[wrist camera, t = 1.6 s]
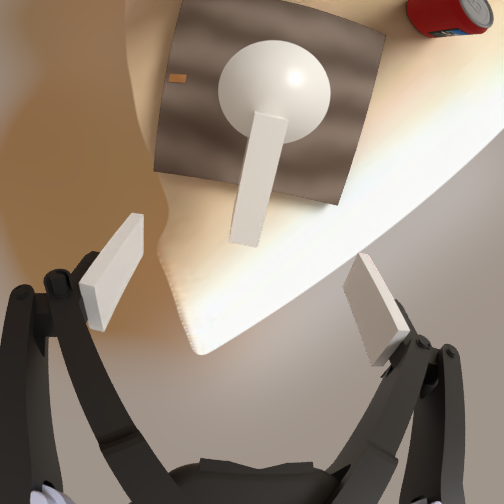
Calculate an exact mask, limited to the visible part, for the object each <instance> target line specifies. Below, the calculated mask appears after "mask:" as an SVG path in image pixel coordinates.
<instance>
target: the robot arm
mask: <svg viewBox="0 0 504 504" xmlns="http://www.w3.org/2000/svg"><path fill="white" fill-rule="evenodd" d="M143 222H144V215H143V214H137V213H131V214H130V216H129V217H128V218H127V219H126V220H125V222H124V223H123V224H122V225H121V227H120V228H119V229H118V230H117V232H116V233H115V234H114V236H113V237H112V238H111V239H110V241H109V242H108V243H107V245H106V246H105V247H104V248H103V250H102V251H101V252H94V251H92V252H90V253H89V254H87V255H85V257H84V258H83V259H82V260H81V262H80V263H79V264H78V265H77V267H76V268H75V269H74V271H73V272H72V273H71V274H70V272H69V271H67V270H65V269H55V270H52V271H50V272H49V273H47V274H46V276H45V277H44V286H45V289H46V292H47V293H35V292H34V289H33V288H32V286H30V285H26V284H23V285H19V286H18V287H16V288H14V289H13V290H12V292H11V294H10V298H9V302H8V306H7V311H6V316H5V321H4V326H3V333H2V338H1V345H0V504H75V503H74V502H73V501H72V499H71V498H70V497H68V496H67V495H66V494H64V493H63V484H62V477H61V471H60V466H59V461H58V456H57V451H56V445H55V440H54V433H53V425H52V417H51V408H50V395H49V375H48V339H49V337H58V340H59V344H60V348H61V351H62V354H63V358H64V360H65V364H66V367H67V370H68V373H69V375H70V378H71V381H72V384H73V386H74V389H75V392H76V394H77V397H78V399H79V402H80V404H81V406H82V409H83V411H84V413H85V415H86V418H87V420H88V422H89V424H90V426H91V429H92V431H93V433H94V435H95V437H96V439H97V441H98V443H99V447H100V450H101V452H102V453H103V456H104V458H105V459H106V461H107V463H108V465H109V467H110V468H111V470H112V471H113V473H114V475H115V477H116V478H117V480H118V481H119V483H120V485H121V486H122V488H123V489H124V491H125V492H126V494H127V495H128V497H129V498H130V500H131V501H132V502H130V503H129V504H377V503H378V501H379V500H380V498H381V496H382V494H383V492H384V491H385V489H386V486H387V485H388V483H389V481H390V479H391V477H392V475H393V473H394V471H395V469H396V467H397V464H398V459H397V458H395V455H396V452H397V450H398V448H399V445H400V443H401V441H402V438H403V436H404V434H405V431H406V429H407V426H408V424H409V421H410V419H411V416H412V413H413V410H414V417H413V425H412V433H411V440H410V447H409V453H408V459H407V464H406V469H405V475H404V479H403V484H402V488H401V493H400V499H399V504H465V498H464V491H463V483H462V482H463V472H464V456H465V407H464V391H463V380H462V372H461V364H460V356H459V353H458V351H457V350H456V348H455V347H453V346H452V345H450V344H444V346H443V347H442V348H441V349H436V348H433V347H432V346H431V343H430V342H429V341H428V340H427V338H425V337H424V336H422V335H418V334H417V332H416V331H415V329H414V327H413V325H412V323H411V321H410V319H409V318H408V315H407V314H406V312H405V310H404V308H403V306H402V305H401V304H400V303H399V302H398V300H396V299H393V297H392V295H391V293H390V291H389V289H388V288H387V286H386V284H385V283H384V281H383V279H382V277H381V275H380V274H379V272H378V270H377V269H376V267H375V265H374V263H373V262H372V260H371V258H370V257H369V255H367V254H362V253H358V254H357V256H356V259H355V261H354V263H353V265H352V268H351V270H350V272H349V274H348V276H347V279H346V281H345V283H344V285H343V289H344V292H345V294H346V297H347V299H348V302H349V304H350V307H351V310H352V313H353V315H354V318H355V320H356V323H357V325H358V329H359V332H360V334H361V337H362V340H363V343H364V346H365V348H366V352H367V355H368V357H369V360H370V363H371V366H384V364H385V363H386V362H387V361H388V360H390V363H391V365H390V366H389V368H388V369H387V370H386V371H385V372H384V374H383V375H382V376H381V378H383V379H382V381H381V383H380V385H379V387H378V389H377V391H376V393H375V395H374V397H373V399H372V401H371V403H370V404H369V407H368V408H367V410H366V412H365V413H364V415H363V417H362V419H361V420H360V422H359V424H358V426H357V427H356V429H355V430H354V432H353V434H352V435H351V437H350V439H349V440H348V442H347V443H346V445H345V447H344V448H343V450H342V451H341V453H340V454H339V455H338V457H337V459H336V460H335V461H334V463H333V464H332V465H331V466H330V467H329V468H328V469H327V470H326V471H323V470H321V469H317V468H313V462H301V463H285V464H281V465H277V466H273V467H268V468H264V469H255V468H251V467H248V466H244V465H240V464H237V463H233V462H230V461H221V460H212V459H204V458H201V459H200V462H199V463H193V464H188V465H184V466H181V467H178V468H176V469H174V470H172V471H170V472H169V473H168V472H167V471H166V470H165V468H164V467H163V465H162V464H161V463H160V461H159V460H158V459H157V457H156V455H155V454H154V452H153V451H152V449H151V448H150V446H149V445H148V443H147V442H146V440H145V439H144V437H143V436H142V434H141V433H140V431H139V430H138V429H137V428H136V426H135V425H134V423H133V421H132V420H131V418H130V416H129V414H128V413H127V411H126V409H125V407H124V405H123V404H122V402H121V400H120V398H119V396H118V394H117V392H116V390H115V388H114V386H113V384H112V383H111V380H110V378H109V376H108V374H107V372H106V370H105V368H104V366H103V363H102V361H101V359H100V357H99V354H98V352H97V350H96V347H95V345H94V343H93V340H92V338H91V335H90V333H89V330H88V328H87V325H86V322H87V320H88V323H89V327H90V328H91V329H94V330H98V331H102V332H104V331H105V329H106V327H107V324H108V322H109V320H110V318H111V316H112V314H113V312H114V310H115V307H116V306H117V303H118V302H119V300H120V297H121V296H122V294H123V292H124V290H125V288H126V285H127V284H128V282H129V280H130V278H131V276H132V274H133V272H134V271H135V269H136V266H137V265H138V263H139V261H140V259H141V258H142V256H143V228H144V223H143Z"/></svg>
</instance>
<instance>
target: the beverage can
mask: <svg viewBox="0 0 504 504" xmlns="http://www.w3.org/2000/svg"><path fill="white" fill-rule="evenodd" d="M407 13H408V16H409V18H410V20H411V22H412V24H413V25H414V26H415V27H416V28H417V29H418V30H419V31H420V32H421V33H423V34H424V35H426V36H429V37H433V38H437V37H447V36H459V35H472V34H482V33H484V32H485V31H486V30H487V29H488V28H489V27H491V26H492V24H493V21H494V17H493V12H492V9H491V7H490V5H489V3H488V1H487V0H409V1H408V3H407Z"/></svg>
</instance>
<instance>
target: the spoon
mask: <svg viewBox="0 0 504 504" xmlns="http://www.w3.org/2000/svg"><path fill="white" fill-rule="evenodd" d="M330 93H331V92H330V84H329V80H328V77H327V74H326V72H325V70H324V68H323V66H322V65H321V64H320V62H319V61H318V60H317V59H316V58H315V57H314V56H313V55H312V54H311V53H309V52H308V51H307V50H305V49H304V48H302V47H300V46H298V45H295V44H293V43H289V42H285V41H278V40H268V41H261V42H257V43H254V44H251V45H249V46H247V47H245V48H243V49H241V50H240V51H239V52H237V53H236V54H235V55H234V56H233V57H232V58H231V59H230V60H229V61H228V63H227V64H226V66H225V67H224V69H223V71H222V74H221V77H220V80H219V86H218V96H219V102H220V106H221V109H222V111H223V113H224V115H225V117H226V118H227V120H228V121H229V122H230V124H231V125H232V126H233V127H234V128H235V129H236V130H237V131H239V132H240V133H241V134H243V135H244V136H246V137H248V140H247V145H246V149H245V154H244V159H243V164H242V169H241V174H240V179H239V184H238V189H237V194H236V199H235V204H234V209H233V215H232V222H231V229H230V236H229V243H234V244H240V245H245V246H251V247H258V243H259V239H260V235H261V231H262V227H263V223H264V219H265V215H266V211H267V207H268V203H269V199H270V195H271V191H272V187H273V183H274V179H275V175H276V171H277V166H278V162H279V158H280V154H281V150H282V146H283V144H285V143H290V142H293V141H296V140H299V139H301V138H303V137H305V136H306V135H308V134H310V133H311V132H312V131H313V130H314V129H316V127H317V126H318V125H319V124H320V123H321V121H322V120H323V118H324V117H325V115H326V113H327V110H328V107H329V103H330Z"/></svg>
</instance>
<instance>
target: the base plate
mask: <svg viewBox="0 0 504 504" xmlns="http://www.w3.org/2000/svg"><path fill="white" fill-rule="evenodd" d="M385 37H386V35H384V34H382V33H380V32H377V31H375V30H373V29H370V28H368V27H366V26H363V25H361V24H358V23H355V22H353V21H350V20H347V19H345V18H342V17H339V16H336V15H333V14H330V13H327V12H324V11H320V10H317V9H314V8H310V7H306V6H303V5H299V4H295V3H291V2H286V1H282V0H183V2H182V5H181V9H180V13H179V17H178V21H177V25H176V29H175V33H174V37H173V42H172V46H171V51H170V56H169V61H168V66H167V71H166V77H165V83H164V89H163V95H162V101H161V108H160V115H159V123H158V131H157V140H156V149H155V160H154V171H155V172H162V173H170V174H177V175H184V176H190V177H197V178H203V179H209V180H215V181H221V182H227V183H233V184H239V179H240V174H241V169H242V164H243V159H244V154H245V149H246V145H247V140H248V137H246V136H244V135H243V134H241V133H240V132H239V131H237V130H236V129H235V128H234V127H233V126H232V125H231V124H230V122H229V121H228V120H227V118H226V117H225V115H224V113H223V111H222V109H221V106H220V102H219V96H218V86H219V80H220V77H221V74H222V71H223V69H224V67H225V66H226V64H227V63H228V61H229V60H230V59H231V58H232V57H233V56H234V55H235V54H236V53H237V52H239V51H240V50H241V49H243V48H245V47H247V46H249V45H251V44H254V43H257V42H261V41H268V40H278V41H285V42H289V43H293V44H295V45H298V46H300V47H302V48H304V49H305V50H307V51H308V52H309V53H311V54H312V55H313V56H314V57H315V58H316V59H317V60H318V61H319V62H320V64H321V65H322V66H323V68H324V70H325V72H326V74H327V77H328V80H329V84H330V92H331V93H330V103H329V107H328V110H327V113H326V115H325V117H324V118H323V120H322V121H321V123H320V124H319V125H318V126H317V127H316V129H314V130H313V131H312V132H311V133H310V134H308V135H306V136H305V137H303V138H301V139H299V140H296V141H293V142H290V143H285V144H283V146H282V150H281V154H280V158H279V162H278V166H277V171H276V175H275V179H274V183H273V187H272V191H274V192H279V193H284V194H289V195H293V196H298V197H303V198H307V199H312V200H316V201H320V202H325V203H329V204H333V205H337V206H338V203H339V200H340V197H341V194H342V191H343V189H344V186H345V183H346V180H347V176H348V173H349V170H350V167H351V164H352V161H353V158H354V155H355V151H356V148H357V145H358V141H359V138H360V135H361V131H362V128H363V124H364V121H365V117H366V114H367V110H368V107H369V103H370V99H371V96H372V92H373V88H374V84H375V80H376V76H377V72H378V68H379V64H380V59H381V55H382V51H383V46H384V42H385Z"/></svg>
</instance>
